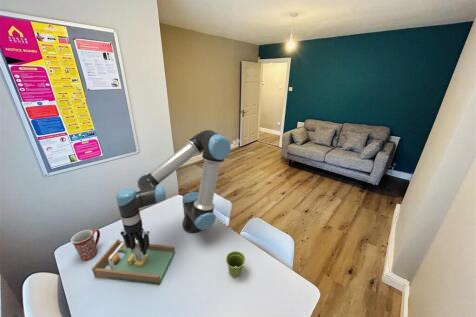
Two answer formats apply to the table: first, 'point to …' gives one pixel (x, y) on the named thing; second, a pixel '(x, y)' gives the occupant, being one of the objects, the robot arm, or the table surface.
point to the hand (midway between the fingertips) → (140, 257)
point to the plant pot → (235, 263)
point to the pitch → (147, 274)
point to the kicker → (139, 261)
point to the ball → (115, 258)
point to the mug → (86, 243)
